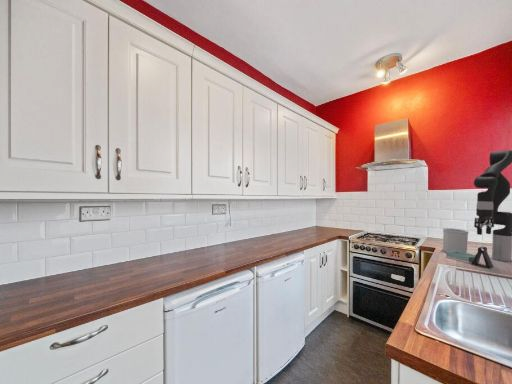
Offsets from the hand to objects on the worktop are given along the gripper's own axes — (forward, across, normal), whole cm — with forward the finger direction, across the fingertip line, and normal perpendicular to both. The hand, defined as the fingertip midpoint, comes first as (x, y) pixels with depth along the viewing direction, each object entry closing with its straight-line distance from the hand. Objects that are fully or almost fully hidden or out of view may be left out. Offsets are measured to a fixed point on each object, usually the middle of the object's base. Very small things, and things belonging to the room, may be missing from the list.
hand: (483, 234), depth 145 cm
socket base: (+20, -3, -13) cm, 24 cm away
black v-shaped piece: (+20, 0, 0) cm, 20 cm away
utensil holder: (+20, -19, -28) cm, 39 cm away
